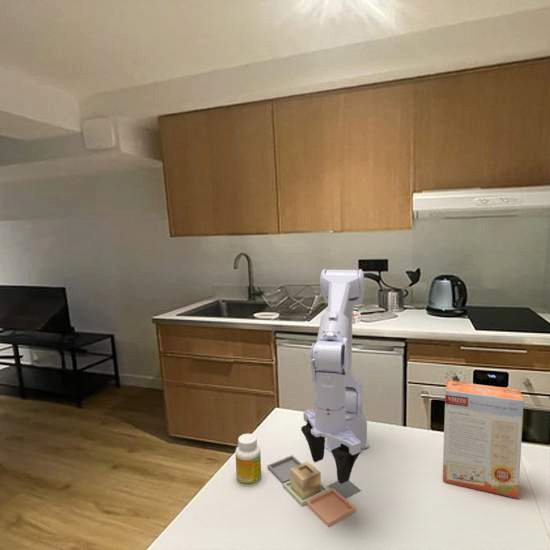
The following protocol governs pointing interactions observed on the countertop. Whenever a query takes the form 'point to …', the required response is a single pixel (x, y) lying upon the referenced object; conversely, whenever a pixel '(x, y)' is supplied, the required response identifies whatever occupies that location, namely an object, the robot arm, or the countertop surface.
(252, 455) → the supplement bottle
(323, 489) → the sage dish
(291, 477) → the letter cube
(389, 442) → the countertop surface
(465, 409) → the cracker box
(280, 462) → the charcoal dish
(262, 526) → the countertop surface
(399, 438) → the countertop surface
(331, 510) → the terracotta dish
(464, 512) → the countertop surface
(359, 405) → the robot arm
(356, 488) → the slate mat
